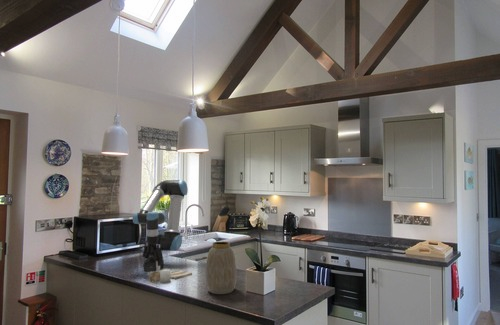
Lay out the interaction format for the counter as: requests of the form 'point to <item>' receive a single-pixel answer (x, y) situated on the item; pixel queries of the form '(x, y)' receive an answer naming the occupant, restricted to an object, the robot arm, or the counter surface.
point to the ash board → (179, 274)
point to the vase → (221, 269)
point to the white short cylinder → (165, 275)
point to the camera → (151, 264)
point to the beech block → (154, 276)
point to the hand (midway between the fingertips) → (152, 269)
